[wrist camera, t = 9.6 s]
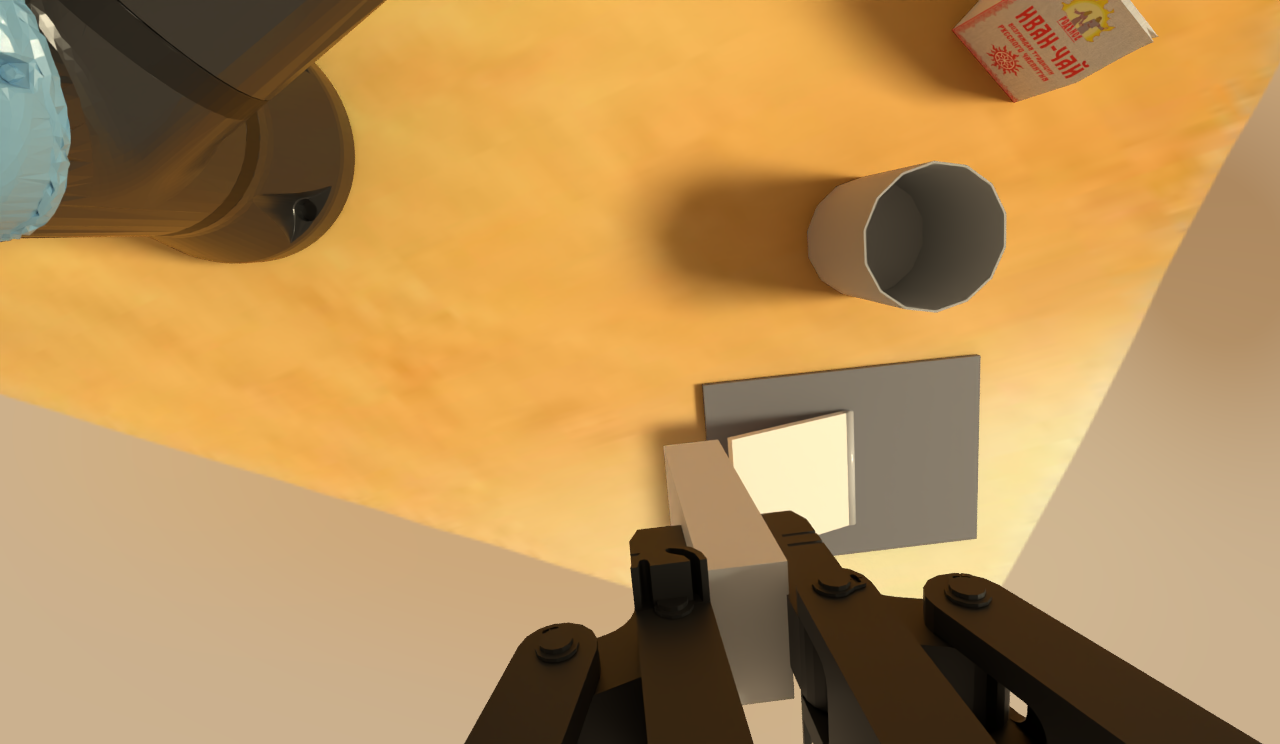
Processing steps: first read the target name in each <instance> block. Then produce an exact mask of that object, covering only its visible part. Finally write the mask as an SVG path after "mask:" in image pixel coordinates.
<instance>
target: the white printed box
mask: <svg viewBox="0 0 1280 744" xmlns="http://www.w3.org/2000/svg"><path fill="white" fill-rule="evenodd" d="M952 31H953V32H954V33H955V34H956V35H957V37H958V38H959V39H960V40H961V41H962V42H963V44H964V45H965V46H966V47H967V48H968V49H969V51H970V52H971V53H972V54H973V55H974V56H975V58H976V59H977V60H978V61H979V62H980V63H981V65H982V66H983V67H984V68H985V69H986V70H987V72H988V73H989V74H990V75H991V76H992V77H993V79H994V80H995V81H996V82H997V83H998V84H999V86H1000V87H1001V88H1002V89H1003V90H1004V91H1005V93H1006V94H1007V95H1008V96H1009V97H1010V98H1011V100H1012V101H1013V102H1014V103H1015V102H1018V101H1021V100H1024V99H1027V98H1030V97H1033V96H1036V95H1039V94H1042V93H1046V92H1049V91H1052V90H1055V89H1058V88H1061V87H1064V86H1067V85H1070V84H1074V83H1076V82H1078V81H1080V80H1082V79H1084V78H1085V77H1087V76H1089V75H1091V74H1093V73H1094V72H1096V71H1098V70H1100V69H1102V68H1103V67H1105V66H1107V65H1109V64H1111V63H1112V62H1114V61H1116V60H1118V59H1120V58H1122V57H1123V56H1125V55H1127V54H1129V53H1131V52H1133V51H1135V50H1137V49H1139V48H1141V47H1143V46H1145V45H1148V44H1150V43H1152V42H1153V40H1152V38H1154V37H1158V35H1157V34H1156V33H1155V32H1154V30H1153V29H1152V28H1151V27H1150V25H1149V24H1148V23H1147V21H1146V20H1145V19H1144V18H1143V16H1142V15H1141V14H1140V12H1139V11H1138V10H1137V9H1136V7H1135V6H1134V5H1133V3H1132V2H1131V1H1130V0H979V1H978V2H977V3H976V4H975V6H974V7H973V8H972V9H971V10H970V11H969V12H968V13H967V14H966V15H965V16H964V17H963V19H962V20H961V21H960V22H959V23H958V24H957V25H956V26H955V27H954V28H953V29H952Z"/></svg>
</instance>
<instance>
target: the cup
mask: <svg viewBox="0 0 1280 744" xmlns="http://www.w3.org/2000/svg"><path fill="white" fill-rule="evenodd" d="M807 239H808V256H809V260H810V261H811V263H812V265H813V267H814V268H815V270H816V272H817V274H818V276H819V277H820V279H821V280H822V281H823V282H825V283H826V284H828V285H829V286H831V287H832V288H834V289H835V290H837V291H838V292H840V293H841V294H845V295H849V296H853V297H858V298H862V299H866V300H870V301H874V302H878V303H882V304H886V305H890V306H894V307H899V308H903V309H909V310H918V311H927V312H939V311H942V310H945V309H947V308H950V307H953V306H956V305H959V304H961V303H964V302H967V301H968V300H969V299H970V298H971V297H972V296H973V295H975V294H976V293H977V292H978V291H979V290H980V289H981V288H982V287H983V286H984V285H985V284H986V283H987V282H988V281H989V280H991V279H992V277H993V275H994V272H995V270H996V268H997V266H998V263H999V261H1000V259H1001V257H1002V254H1003V252H1004V250H1005V248H1006V212H1005V209H1004V207H1003V205H1002V203H1001V201H1000V199H999V197H998V195H997V193H996V190H995V188H994V186H993V184H992V183H990V182H989V181H988V180H986V179H985V178H984V177H982V176H981V175H980V174H978V173H977V172H975V171H974V170H973V169H971V168H970V167H969V166H967V165H962V164H954V163H946V162H938V161H932V162H928V163H923V164H919V165H914V166H910V167H905V168H901V169H896V170H892V171H887V172H883V173H878V174H874V175H869V176H865V177H861V178H858V179H855V180H853V181H850V182H847V183H844V184H842V185H839V186H836V187H835V188H834V189H833V190H832V191H831V192H830V193H829V194H828V195H827V196H826V197H825V198H824V199H823V200H822V201H821V202H820V203H819V204H818V205H817V207H816V210H815V212H814V215H813V217H812V220H811V223H810V225H809V228H808V230H807Z"/></svg>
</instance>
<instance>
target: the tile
mask: <svg viewBox="0 0 1280 744" xmlns="http://www.w3.org/2000/svg"><path fill="white" fill-rule="evenodd" d="M728 452H729V460H730V461H731V463H732V465H733V467H734V468H735V470H736V472H737V474H738V475H739V477H740V479H741V481H742V482H743V484H744V486H745V488H746V489H747V491H748V493H749V495H750V496H751V498H752V500H753V502H754V503H755V505H756V507H757V509H758V510H759V512H760V514H763V513H772V512H780V511H789V510H791V511H793V512H795V513H797V514H798V515H800V516H802V517H804V518H806V519H807V520H808V521H809V523H810V524H811V526H812V527H813V528H814V530H815V533H817V534H818V535H819V534H822V533H826V532H829V531H832V530H835V529H838V528H842V527H845V526H848V525H855V524H856V498H855V456H854V413H853V410H842V411H840V412H836V413H832V414H827V415H823V416H819V417H814V418H810V419H806V420H801V421H797V422H793V423H789V424H784V425H780V426H776V427H771V428H767V429H763V430H758V431H754V432H750V433H746V434H741V435H737V436H733V437H728Z"/></svg>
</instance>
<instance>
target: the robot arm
mask: <svg viewBox="0 0 1280 744" xmlns="http://www.w3.org/2000/svg"><path fill="white" fill-rule="evenodd" d="M385 1H386V0H0V242H4V241H10V240H12V239H20V238H58V237H113V236H149V237H151V238H153V239H155V240H157V241H159V242H161V243H163V244H166V245H168V246H170V247H172V248H174V249H176V250H178V251H181V252H183V253H185V254H188V255H191V256H194V257H197V258H201V259H205V260H210V261H215V262H222V263H253V262H265V261H272V260H276V259H280V258H284V257H287V256H290V255H292V254H295V253H297V252H299V251H301V250H303V249H304V248H306V247H308V246H309V245H311V244H312V243H314V242H315V241H316V240H318V239H319V238H320V237H321V236H322V235H323V234H324V233H325V232H326V231H327V230H328V229H329V228H330V227H331V226H332V224H333V223H334V222H335V220H336V219H337V218H338V216H339V214H340V213H341V211H342V209H343V207H344V205H345V203H346V200H347V198H348V195H349V192H350V189H351V185H352V181H353V175H354V165H355V150H354V141H353V134H352V130H351V126H350V122H349V119H348V116H347V113H346V110H345V108H344V106H343V104H342V101H341V99H340V97H339V95H338V94H337V92H336V90H335V89H334V87H333V85H332V84H331V82H330V81H329V80H328V78H327V77H326V75H325V74H324V73H323V72H322V71H321V69H320V68H319V67H318V66H317V65H316V64H315V63H314V62H315V61H316V60H318V59H319V58H320V57H321V56H322V55H323V54H325V53H326V52H327V51H328V50H329V49H330V48H331V47H333V46H334V45H335V44H336V43H337V42H338V41H340V40H341V39H342V38H343V37H344V36H345V35H347V34H348V33H349V32H350V31H351V30H352V29H354V28H355V27H356V26H357V25H358V24H359V23H361V22H362V21H363V20H364V19H365V18H366V17H368V16H369V15H370V14H371V13H372V12H373V11H374V10H376V9H377V8H378V7H379V6H380V5H381V4H383V3H384V2H385ZM663 447H664V457H665V468H666V479H667V490H668V501H669V511H670V522H671V526H666V527H658V528H649V529H641V530H637V531H636V533H635V534H634V536H633V537H632V539H631V540H630V542H629V544H630V555H631V568H630V569H631V578H632V587H633V595H634V605H635V611H634V613H633V615H632V617H631V619H629V621H628V622H627V623H626V624H625V625H623V626H622V627H620V628H619V629H617V630H616V631H614V632H611V633H609V634H607V635H604V636H602V637H599V638H596V636H595V634H594V633H593V631H592V630H590V629H588V628H587V627H585V626H583V625H580V624H573V623H561V624H553V625H550V626H546V627H544V628H541V629H539V630H537V631H535V632H534V633H532V634H530V635H529V636H527V637H526V638H525V639H524V641H523V642H522V643H521V644H520V645H519V646H518V648H517V650H516V652H515V654H514V655H513V657H512V659H511V661H510V663H509V664H508V666H507V668H506V670H505V672H504V673H503V676H502V677H501V679H500V681H499V682H498V684H497V686H496V688H495V690H494V692H493V693H492V695H491V697H490V699H489V700H488V702H487V704H486V706H485V708H484V709H483V711H482V713H481V715H480V717H479V718H478V720H477V722H476V724H475V726H474V728H473V729H472V731H471V733H470V734H469V736H468V738H467V740H466V742H465V743H464V744H753V740H752V737H751V734H750V730H749V727H748V724H747V721H746V717H745V714H744V711H743V707H742V705H747V704H754V703H762V702H770V701H778V700H785V699H793V698H794V682H793V673H794V676H795V678H796V680H797V682H798V684H799V687H800V689H801V700H802V701H801V702H802V721H803V722H802V723H803V743H804V744H812V742H813V744H1262V743H1260V742H1258V741H1257V740H1255V739H1253V738H1252V737H1250V736H1249V735H1247V734H1245V733H1244V732H1242V731H1240V730H1239V729H1237V728H1235V727H1233V726H1232V725H1230V724H1229V723H1227V722H1225V721H1224V720H1222V719H1220V718H1219V717H1217V716H1215V715H1214V714H1212V713H1210V712H1208V711H1207V710H1205V709H1204V708H1202V707H1200V706H1199V705H1197V704H1195V703H1194V702H1192V701H1190V700H1189V699H1187V698H1185V697H1184V696H1182V695H1180V694H1179V693H1177V692H1175V691H1174V690H1172V689H1171V688H1169V687H1167V686H1165V685H1164V684H1162V683H1161V682H1159V681H1157V680H1156V679H1154V678H1152V677H1151V676H1149V675H1147V674H1146V673H1144V672H1142V671H1141V670H1139V669H1137V668H1136V667H1134V666H1132V665H1131V664H1129V663H1127V662H1126V661H1124V660H1122V659H1121V658H1119V657H1117V656H1116V655H1114V654H1112V653H1111V652H1109V651H1107V650H1106V649H1104V648H1102V647H1101V646H1099V645H1097V644H1096V643H1094V642H1093V641H1091V640H1089V639H1088V638H1086V637H1084V636H1083V635H1081V634H1079V633H1078V632H1076V631H1074V630H1073V629H1071V628H1069V627H1068V626H1066V625H1064V624H1063V623H1061V622H1059V621H1058V620H1056V619H1054V618H1053V617H1051V616H1049V615H1048V614H1046V613H1044V612H1043V611H1041V610H1039V609H1037V608H1036V607H1034V606H1033V605H1031V604H1029V603H1028V602H1026V601H1024V600H1023V599H1021V598H1019V597H1018V596H1016V595H1015V594H1013V593H1011V592H1009V591H1008V590H1006V589H1005V588H1003V587H1001V586H1000V585H998V584H995V583H993V582H991V581H989V580H987V579H984V578H980V577H976V576H972V575H970V574H963V573H961V574H959V573H951V574H945V575H938V576H936V577H934V578H932V579H930V580H928V581H927V582H926V584H925V586H924V587H923V599H916V598H903V597H893V596H885V595H881V594H880V592H879V591H878V590H877V589H876V587H875V586H874V585H873V583H872V582H871V581H870V580H868V579H867V578H866V577H865V576H864V575H862V574H860V573H857V572H855V571H853V570H850V569H845V568H842V567H841V566H840V564H839V563H838V562H837V560H836V559H835V557H834V556H833V555H832V553H831V552H830V550H829V549H828V548H827V546H826V545H825V544H824V542H823V543H822V539H821V538H820V537H819V535H818V534H817V533H815V530H814V528H813V527H812V526H811V524H810V523H809V521H808V520H807V519H806V518H804V517H802V516H800V515H798V514H797V513H795V512H793V511H791V510H789V511H780V512H772V513H763V514H760V512H759V510H758V509H757V507H756V505H755V503H754V502H753V500H752V498H751V496H750V495H749V493H748V491H747V489H746V488H745V486H744V484H743V482H742V481H741V479H740V477H739V475H738V474H737V472H736V470H735V468H734V467H733V465H732V463H731V461H730V460H729V458H728V456H727V454H726V453H725V451H724V449H723V447H722V446H721V444H720V442H719V440H709V441H700V442H691V443H682V444H673V445H664V446H663ZM1010 691H1011V692H1012V693H1013V694H1015V695H1016V696H1017V697H1018V698H1020V699H1021V700H1022V701H1024V702H1025V703H1026V704H1027V705H1028V708H1027V717H1026V718H1025V717H1024V716H1022V715H1020V714H1018V713H1017V712H1016V711H1015V710H1014V709H1012V708H1011V707H1010V706H1009V702H1010Z"/></svg>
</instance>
